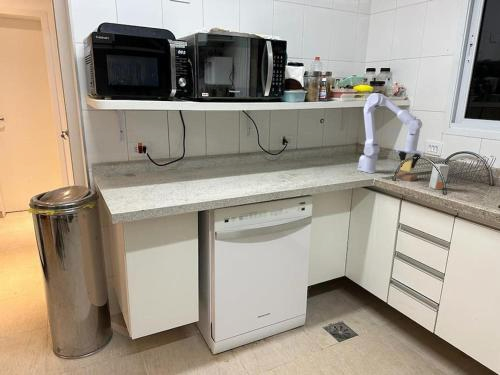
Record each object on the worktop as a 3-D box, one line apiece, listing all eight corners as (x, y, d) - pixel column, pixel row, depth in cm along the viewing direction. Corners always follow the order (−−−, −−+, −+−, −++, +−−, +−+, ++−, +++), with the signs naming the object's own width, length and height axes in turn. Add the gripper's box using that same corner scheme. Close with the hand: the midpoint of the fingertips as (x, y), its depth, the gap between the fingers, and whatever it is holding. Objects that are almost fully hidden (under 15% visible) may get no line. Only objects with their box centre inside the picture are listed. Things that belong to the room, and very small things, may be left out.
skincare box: (434, 189, 171) (439, 165, 167) (428, 187, 174) (433, 163, 171) (444, 189, 172) (450, 165, 169) (438, 186, 176) (443, 163, 173)
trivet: (393, 177, 190) (394, 173, 190) (400, 175, 197) (401, 171, 196) (410, 181, 184) (411, 176, 184) (416, 179, 190) (417, 174, 190)
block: (400, 169, 189) (401, 160, 188) (404, 168, 192) (405, 160, 191) (409, 171, 186) (411, 162, 184) (413, 170, 189) (414, 161, 188)
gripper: (395, 140, 187) (391, 165, 191) (423, 144, 177) (418, 170, 181) (401, 139, 192) (396, 163, 196) (428, 143, 182) (423, 168, 186)
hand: (407, 167), depth 189 cm, fingers closed on block, 5 cm apart
